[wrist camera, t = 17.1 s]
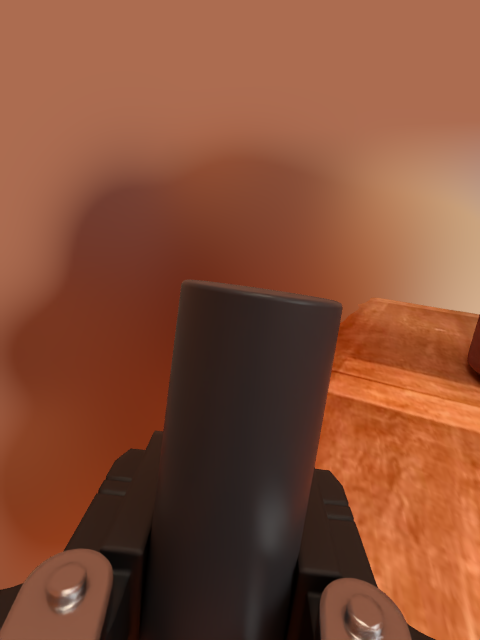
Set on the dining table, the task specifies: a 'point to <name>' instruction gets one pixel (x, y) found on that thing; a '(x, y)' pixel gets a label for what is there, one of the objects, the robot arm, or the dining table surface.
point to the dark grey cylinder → (236, 460)
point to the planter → (475, 350)
